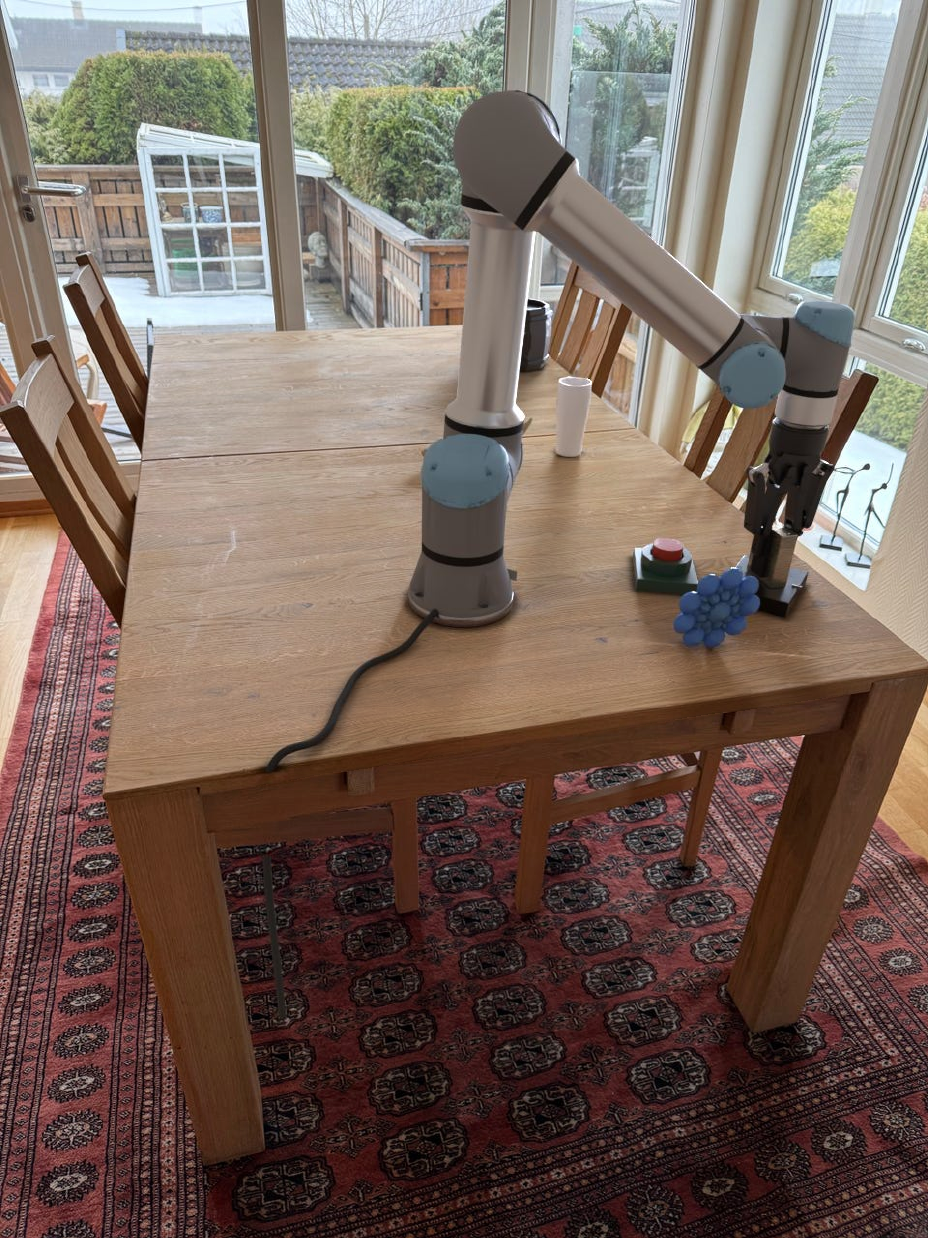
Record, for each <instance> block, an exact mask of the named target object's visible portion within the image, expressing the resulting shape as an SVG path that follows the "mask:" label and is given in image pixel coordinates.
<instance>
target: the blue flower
mask: <svg viewBox="0 0 928 1238" xmlns="http://www.w3.org/2000/svg"><path fill="white" fill-rule="evenodd" d="M697 582H698V584H697V592H693V591H692V592H689V593H686V594H682V596H681V597H680V598H679V601H678V609H679V611H680V613H679V614H678V615H676V617H675V618H674V619H673V623H672V625H673V630H674V631H675V633H676V634H682V642H683V644H685V646H686V647H689V648H693V647H697V646H699V645H701V643H702V644H703V645H704V646H705V647H706V648H716V647H718V646H721V644H722V643H723V642H724V641H725V638H726V635H727V636H738V635H740V634H741V633H743V632H744V630H746V627H747V624H748V621H747V617H749V616H752V615H754V614H755V613H756V612H757V611H759V610H758V608H759V605H760V599H759V598H758V597H757V596H756V595H754V594H755V593H756V592H757V589H758V587H759V583H758V580H757V579H756V578H755V577H753V576H747V577H744V578H743V573H742V571H741V570H740V569H738V568H735V567H733V568H731V567H730V568H728V569H726V570H725V571H723V572H722V573H721V575H720V577H719V575H717V574H714V573H709V574H706V575H705V574H704V575H703V576H702V577H701V578H700V579H699V580H698V581H697Z"/></svg>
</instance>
